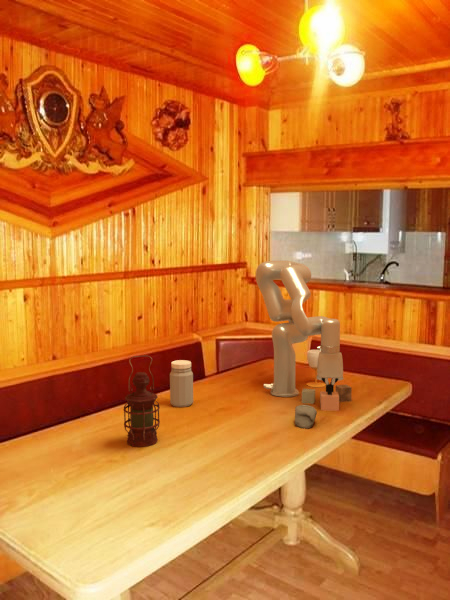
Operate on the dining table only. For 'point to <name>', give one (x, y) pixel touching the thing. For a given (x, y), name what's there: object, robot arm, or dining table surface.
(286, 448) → the dining table surface
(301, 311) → the robot arm
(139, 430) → the lantern
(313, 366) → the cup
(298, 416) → the stone
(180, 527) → the dining table surface
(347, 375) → the dining table surface
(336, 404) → the terracotta block
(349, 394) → the walnut block
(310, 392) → the greygreen block
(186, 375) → the jar
